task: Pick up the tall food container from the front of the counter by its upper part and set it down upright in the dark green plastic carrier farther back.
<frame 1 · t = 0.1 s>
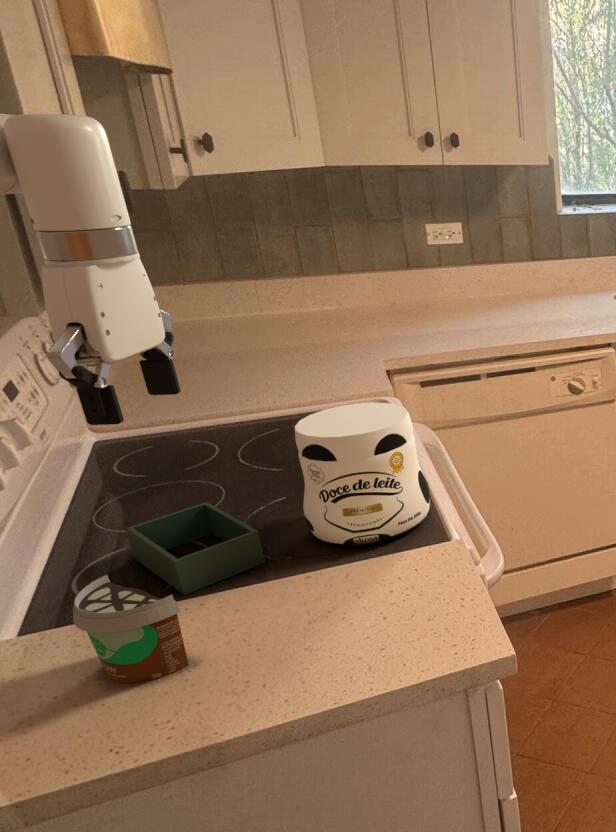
hand: (137, 408, 84), 29 cm above the countertop, tool pointing down, fingers open, 9 cm apart
carrier: (201, 564, 111), on the countertop
food container: (134, 676, 88), on the countertop
milk container: (374, 529, 121), on the countertop
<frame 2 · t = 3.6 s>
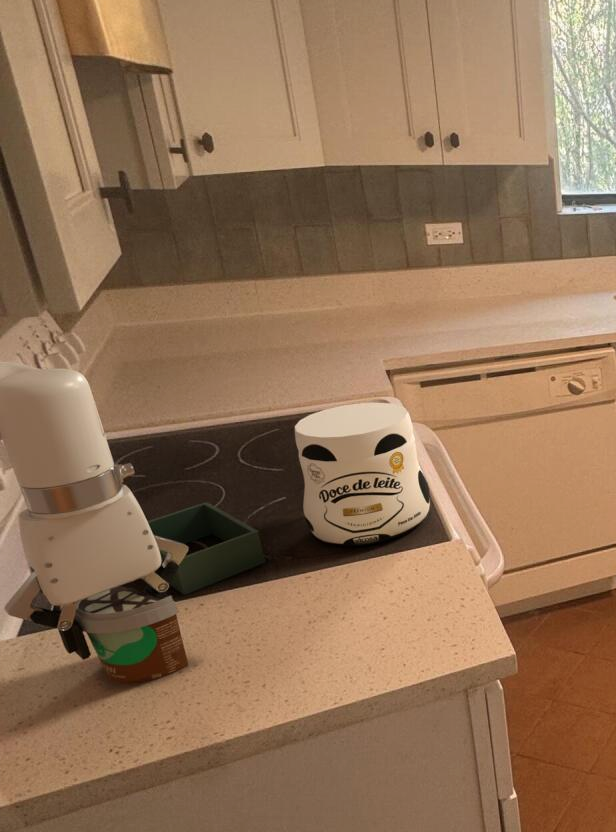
hand: (122, 635, 86), 5 cm above the countertop, tool pointing down, fingers closed on food container, 6 cm apart
food container: (134, 676, 88), on the countertop, touching gripper
everything else where it was.
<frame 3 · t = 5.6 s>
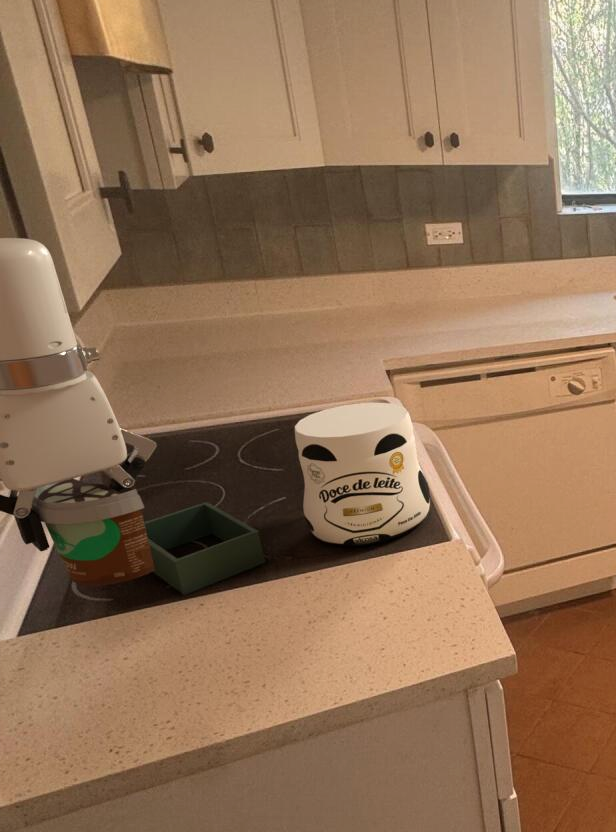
hand: (84, 531, 82), 18 cm above the countertop, tool pointing down, fingers closed on food container, 6 cm apart
food container: (97, 576, 84), point 13 cm above the countertop, touching gripper
everything else where it was.
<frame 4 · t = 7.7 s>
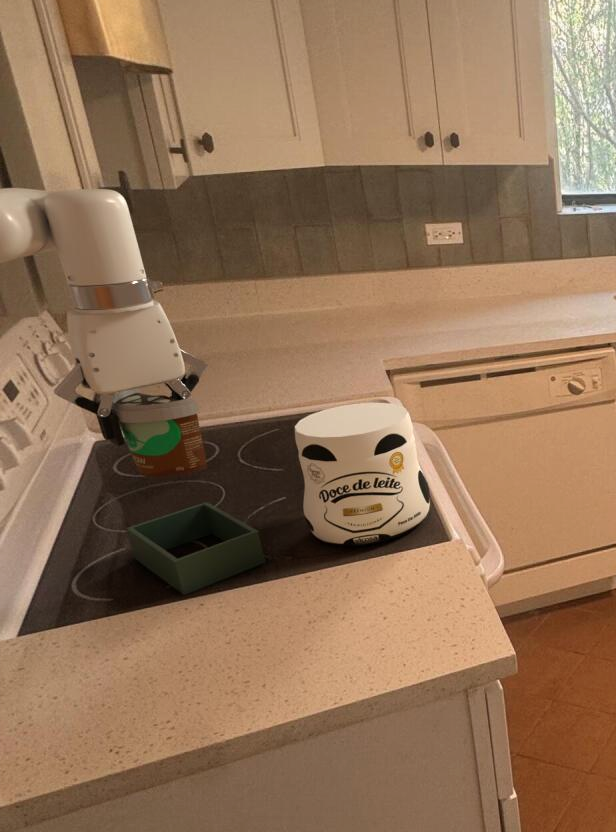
hand: (151, 433, 100), 21 cm above the countertop, tool pointing down, fingers closed on food container, 6 cm apart
food container: (160, 472, 102), point 16 cm above the countertop, touching gripper
everything else where it was.
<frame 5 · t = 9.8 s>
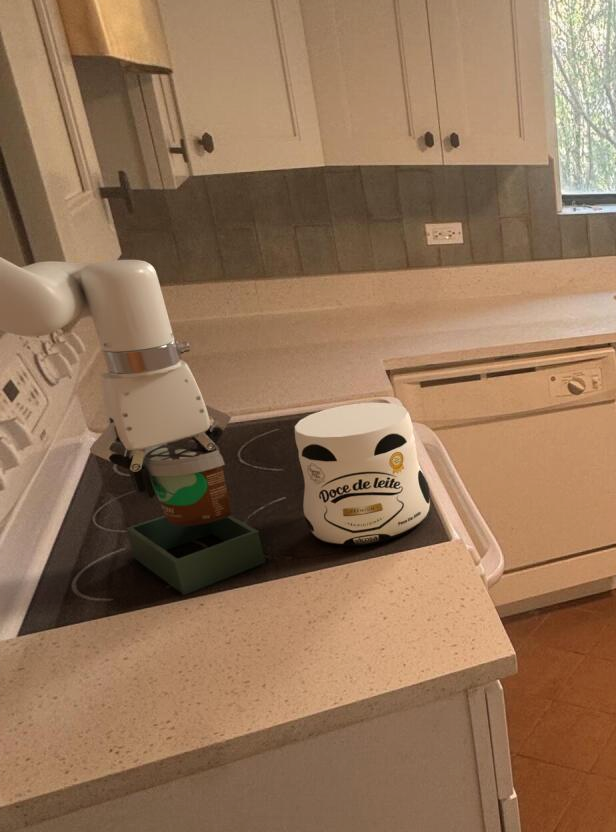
hand: (178, 484, 106), 12 cm above the countertop, tool pointing down, fingers closed on food container, 6 cm apart
food container: (187, 519, 108), point 7 cm above the countertop, touching gripper
everything else where it was.
when the fingers open (6 cm above the countertop, at t = 11.9 s): food container stays where it is, resting on carrier.
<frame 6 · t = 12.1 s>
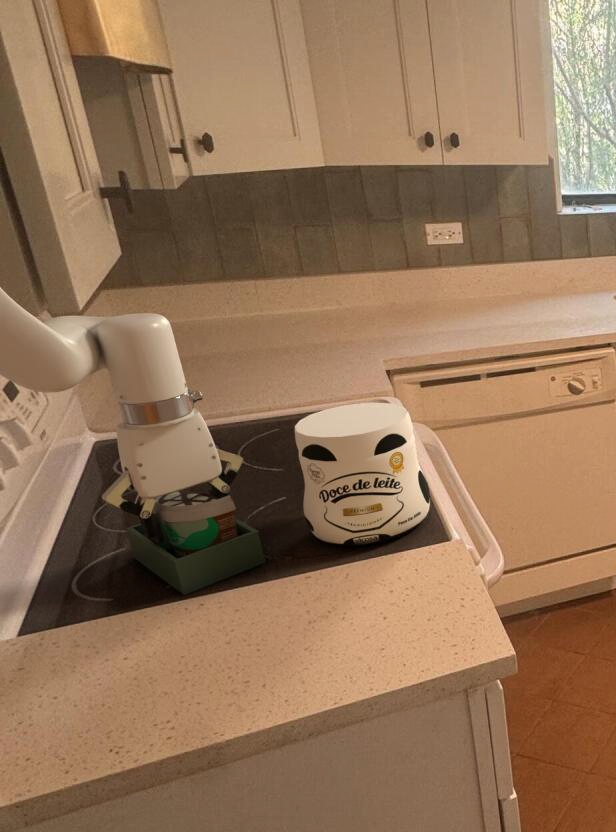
hand: (190, 527, 109), 6 cm above the countertop, tool pointing down, fingers open, 7 cm apart
food container: (199, 562, 110), resting on carrier
everything else where it was.
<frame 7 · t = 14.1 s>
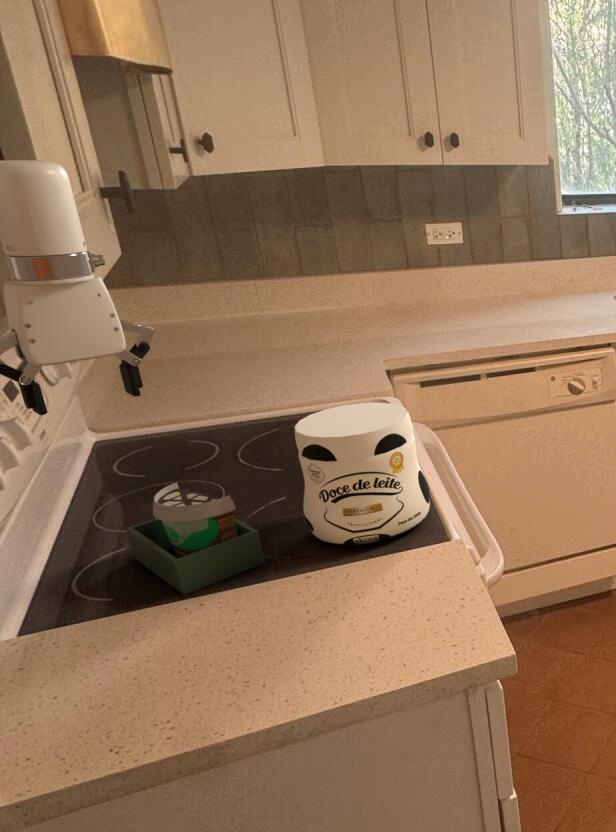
hand: (88, 403, 100), 25 cm above the countertop, tool pointing down, fingers open, 9 cm apart
nothing on the countertop moved.
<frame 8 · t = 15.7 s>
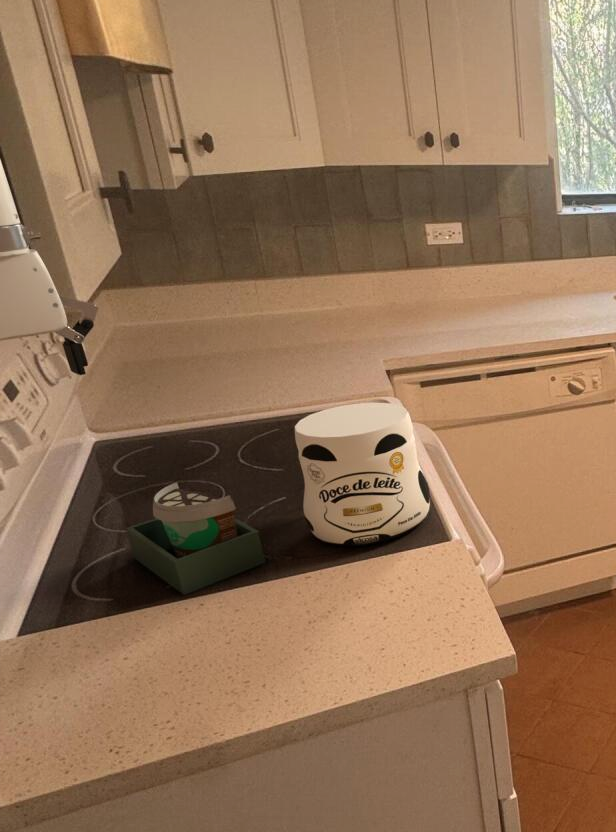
hand: (30, 382, 97), 28 cm above the countertop, tool pointing down, fingers open, 9 cm apart
nothing on the countertop moved.
at the end: food container inside the target area in the carrier (0.2 cm from its centre), point 0.3 cm above the carrier's base; food container tilted 0°; the gripper is holding nothing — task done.
